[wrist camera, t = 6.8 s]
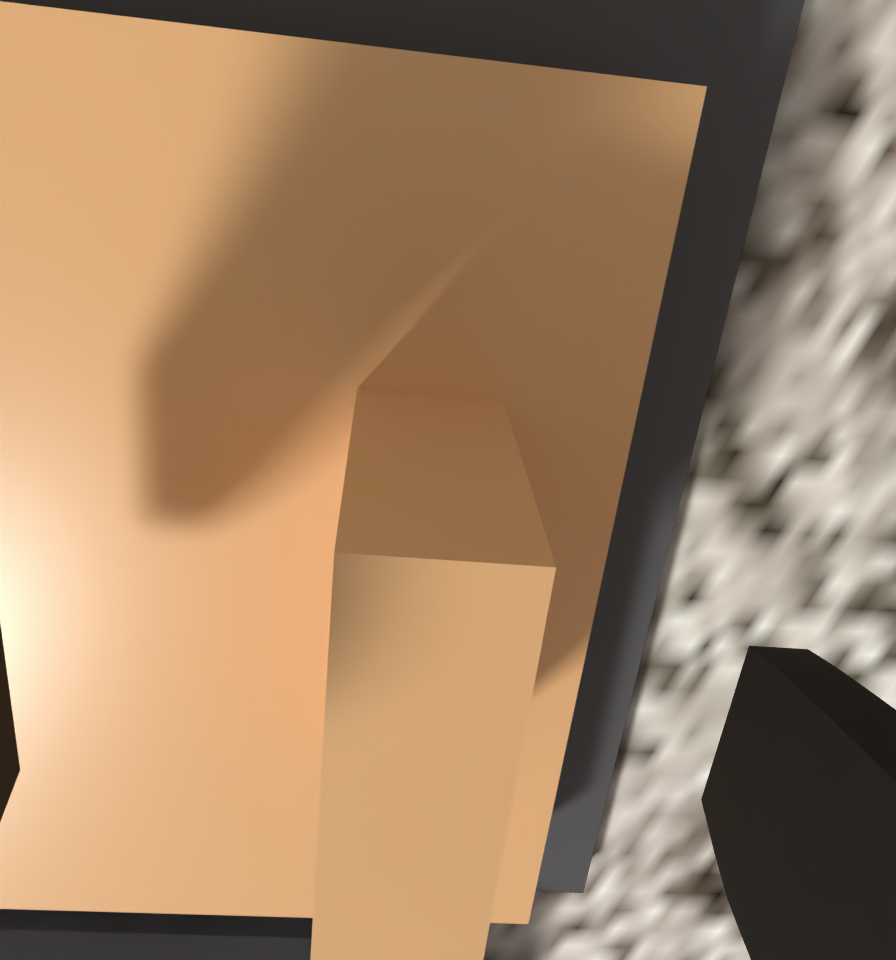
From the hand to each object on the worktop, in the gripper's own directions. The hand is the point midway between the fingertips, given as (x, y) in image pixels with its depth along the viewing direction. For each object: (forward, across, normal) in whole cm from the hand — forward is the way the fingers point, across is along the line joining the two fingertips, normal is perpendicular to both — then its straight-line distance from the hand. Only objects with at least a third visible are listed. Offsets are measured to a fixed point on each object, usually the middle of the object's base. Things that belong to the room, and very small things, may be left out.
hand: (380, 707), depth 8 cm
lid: (+3, +6, 0) cm, 6 cm away
